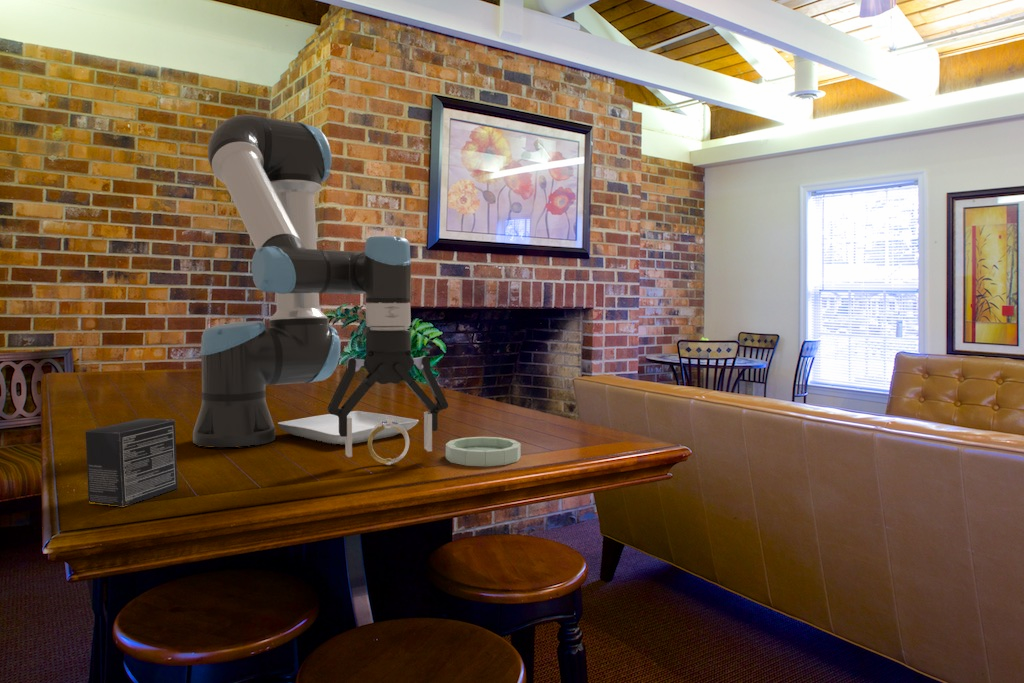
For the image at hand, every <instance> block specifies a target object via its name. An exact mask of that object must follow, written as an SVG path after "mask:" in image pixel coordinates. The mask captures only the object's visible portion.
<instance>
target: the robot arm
mask: <svg viewBox="0 0 1024 683" xmlns="http://www.w3.org/2000/svg"><path fill="white" fill-rule="evenodd" d="M207 158H208V159H207V160H208V163H209V166H210V168H211V171H212V173H213V175H214V176H215V177H216V179H218V180H219V181H220V182H221V183H223V184H225V187H226V189H227V191H228V193H229V195H230V197H231V200H232V201H233V204H234V206H235V208H236V210H237V212H238V215H239V216H240V219H241V220H242V223H243V225H244V227H245V229H246V231H247V233H248V235H249V237H250V239H251V242H252V244H253V246H254V248H255V251H254V253H253V255H252V259H251V268H250V269H251V270H250V271H251V274H252V281H253V284H254V285H255V287H256V288H257V289H258V290H259V291H261V292H265V293H275V295H276V296H275V299H276V300H275V303H276V311H275V313H274V314H273V315H272V316H271V317H269V327H266V325H265V323H264V321H262V320H250V321H239V322H229V323H224V324H218V325H213V326H210V327H207V328H206V329H205V330H204V331H203V332H202V334H201V343H200V351H199V352H200V353H199V354H200V357H201V358H200V360H201V361H200V364H201V398H202V399H201V406H200V410H199V413H198V415H197V419H196V422H195V423H194V428H193V431H192V443H195V444H197V445H202V446H214V447H236V446H248V447H251V446H250V445H255V446H260V444H261V445H265V444H267V443H268V444H269V443H271V442H273V441H274V440H276V427H275V425H274V424H275V423H274V422H273V421H274V420H273V419H272V416H271V413H270V410H269V408H268V404H267V401H266V386H277V385H278V386H279V385H290V384H303V383H304V384H311V383H313V382H315V383H316V382H323V381H325V380H327V379H328V378H330V377H331V376H332V375H333V374H334V372H335V370H336V369H337V366H338V364H339V360H340V355H341V341H340V340H341V339H340V336H339V335H338V334H339V333H338V331H337V330H336V328H335V327H333V326H331V325H329V323H328V321H329V319H328V315H326V314H325V313H323V311H322V310H321V308H320V307H321V306H320V294H336V295H337V294H340V295H341V294H344V295H354V296H356V295H361V294H364V295H365V326H366V327H368V328H369V329H368V330H366V331H365V356H364V359H360V358H354V357H352V356H351V357H350V356H349V357H348V358H347V360H346V366H345V372H344V373H343V376H342V378H341V380H340V382H339V383H338V386H337V387H336V390H335V392H334V394H333V396H332V398H331V400H330V402H329V404H328V406H327V410H326V411H327V412H328V414H332V415H336V416H338V418H339V434H340V436H341V437H345V445H344V446H345V448H344V450H345V451H344V452H345V456H346V457H347V458H352V457H353V444H352V418H351V417H350V416H347V415H348V414H349V413H350V412H352V411H353V409H354V408H355V407H356V406H357V404H358V403H359V402H360V401H361V400H362V399H363V397H364V396H365V394H366V393H367V392H368V391H369V390H370V389H371V387H373V386H374V384H376V383H378V384H380V385H386V384H390V383H391V384H393V385H394V384H397V385H398V384H400V383H401V382H404V384H406V386H407V387H409V389H410V390H411V392H413V394H414V395H415V396H416V397H417V398H418V399H419V400H420V402H421V403H422V404H423V405H424V406H425V408H427V410H428V411H423V449H424V450H425V451H426V452H427V453H428V452H433V432H437V430H438V429H439V428H438V422H439V420H438V414H439V413H440V411H442V410H446V409H447V408H448V407H449V403H448V402H447V399H446V397H445V395H444V394H443V391H442V389H441V387H440V385H439V383H438V381H437V379H436V377H435V375H434V373H433V371H432V369H431V363H430V357H428V356H426V355H420V357H413V356H412V335H411V334H412V332H411V331H410V329H408V327H410V326H411V325H412V324H411V323H412V322H411V321H412V319H411V318H412V315H411V314H412V313H411V299H412V298H411V297H412V296H411V290H412V286H411V284H412V283H411V282H412V280H411V279H412V273H411V272H412V259H411V246H410V245H411V244H410V241H409V240H408V239H407V238H405V237H401V236H395V235H394V236H393V235H392V236H390V235H387V236H386V235H385V236H383V235H377V236H369V237H367V239H366V241H365V244H364V250H361V251H355V250H354V251H353V250H351V251H350V250H349V251H348V250H331V249H330V250H328V249H318V247H317V245H318V244H317V226H316V224H317V222H316V206H315V205H316V201H315V196H316V194H317V193H319V192H320V191H321V189H322V183H324V182H326V181H327V179H328V178H329V177H330V174H331V170H330V168H332V163H333V162H332V150H331V145H330V144H329V141H328V138H327V136H326V135H325V134H324V133H323V131H322V130H321V129H320V128H318V127H316V126H313V125H309V124H305V123H303V122H301V121H297V122H295V121H291V120H290V121H288V120H283V119H277V118H271V117H267V116H259V115H255V114H239V115H234V116H232V117H229V118H227V119H226V120H224V121H222V123H220V124H218V126H217V127H216V128H215V130H214V131H213V133H212V134H211V136H210V139H209V141H208V144H207ZM414 365H415V366H416V368H417V369H418V370H420V371H421V373H422V375H423V377H424V379H425V381H426V383H427V386H428V387H429V389H430V391H431V394H432V395H433V397H434V399H435V401H436V402H435V403H434V401H432V399H431V398H430V397H429V396H428V394H427V393H425V391H424V390H423V389H422V388H421V386H419V384H418V383H417V382H416V381H415V380H414V378H413V377H412V376H411V375H410V374H409V372H410V371H411V369H412V368H413V367H414ZM361 367H363V368H365V370H366V372H367V375H366V376H365V377H364V379H363V380H362V382H361V383H360V384H359V385H358V387H357V388H356V389H355V390H354V391H353V393H352V394H351V395H350V396H349V397H348V399H347V400H346V401H345V402H344V403H343V405H342V406H341V403H342V400H343V399H344V397H345V395H346V393H347V391H348V389H349V387H350V384H351V383H352V380H353V378H354V376H355V373H356V372H359V371H360V370H361ZM340 406H341V407H340Z"/></svg>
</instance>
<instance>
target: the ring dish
mask: <svg viewBox="0 0 1024 683" xmlns="http://www.w3.org/2000/svg"><path fill="white" fill-rule="evenodd" d="M521 444H522V443H520V442H518V441H517V440H515V439H511V438H506V437H505V438H504V437H501V436H500V437H499V436H498V437H495V436H473V437H472V436H471V437H461V438H455V439H451V440H449V441H448V442H447V443H445V459H446V460H447V461H449V463H451V464H456V465H461V466H465V467H466V466H470V467H495V466H496V467H497V466H506V465H510V464H513V463H516V462H519V460H520V459H521V455H522V454H521V450H522V449H521Z"/></svg>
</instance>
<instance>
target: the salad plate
mask: <svg viewBox="0 0 1024 683" xmlns="http://www.w3.org/2000/svg"><path fill="white" fill-rule="evenodd" d="M347 416H350V417H351V418H352V445H354V444H359V443H365V442H368V438H369V435H370V433H371V431H372V429H373V428H374V427H375V426H376V425H377V424H379V423H381V420H380V419H382V420H383V422H384V421H386V418H388V419H391V418H393V421H394V420H395V419H396V423H397V421H398V420H400V422H399V425H400V426H402V427H403V428H404V429H405V430H406V432H408V431H409V430H411V429H412V428H413V427H415V426H416V425H417V424H418V423H419V419H415V418H409V417H403V416H397V415H393V414H392V415H390V414H386V413H385V414H383V413H376V412H369V411H360V410H351V412H350V413H349V414H348V415H347ZM276 425H277V426H278V427H279V428H280V429H281V430H282V431H284V432H285V433H288V434H290V435H293V436H296V437H299V436H300V438H303V437H304V439H308V440H312V441H316V440H317V441H316V442H321V441H322V442H321V443H327V444H331V443H332V445H336V444H340V445H339V446H342V445H343V446H345V437H341V436H340V434H339V418H338V416H336V415H332V414H330V413H327V414H320V415H314V416H308V417H303V418H297V419H291V420H285V421H279V422H277V424H276ZM398 434H402V433H401V432H400V431H398V430H397V429H395V428H393V427H392V428H384V430H382V431H380V432H378V433H377V434H376V435H375V436H374V438H373V440H372V441H375V440H379V439H384V438H385V439H386V438H391V437H394V436H396V435H398Z"/></svg>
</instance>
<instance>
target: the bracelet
mask: <svg viewBox="0 0 1024 683" xmlns="http://www.w3.org/2000/svg"><path fill="white" fill-rule="evenodd" d="M380 420H381V423H379V424H377V425H376V426H375V427H374V428H373V429H372V431H371V433H370V435H369V438H368V441H367V449H368V452H369V454H370V456H371V457H372V458H373V459H374V460H375V461H376V462H378V463H381V464H384V465H386V466H391V465H392V464H395V463H398V462H399V461H400V462H401V460H402V459H403V458H404V457H405V456H407V452H408V451H409V447H410V437H409V436H410V435H409V434H408V431H406V430H405V429H404V428H403V427H402V426H400V425H399V422H400V420H398V421H397V423H396V419H395V420H394V421H393V418H391V419H388V418H386V421H384V422H383V420H382V419H380ZM392 427H393V428H395V429H397V430H398V431H400V432H401V433H400V434H402V435H403V438H404V442H405V444H404V449H403V451H402V453H401V454H400V455H398V456H397V457H395V458H391V457H387V458H382V457H381V456H379V455H378V454H377V453H376V452H375V450H374V448H373V441H374V440H373V438H374V436H375V435H376V434H377V433H378V432H380V431H382V430H384V428H392Z"/></svg>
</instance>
